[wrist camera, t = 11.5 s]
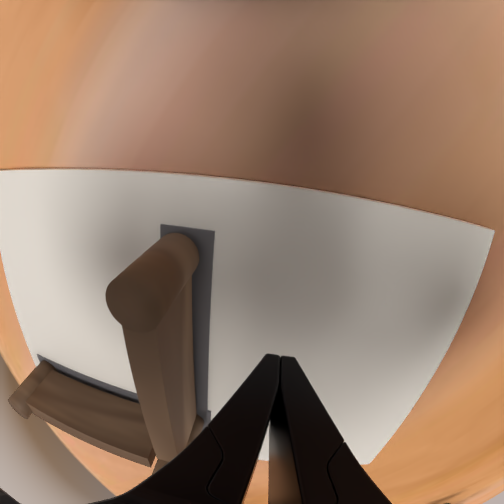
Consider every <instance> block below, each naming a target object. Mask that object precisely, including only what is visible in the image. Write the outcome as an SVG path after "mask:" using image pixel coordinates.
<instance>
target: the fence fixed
mask: <svg viewBox="0 0 504 504" xmlns="http://www.w3.org/2000/svg"><path fill="white" fill-rule="evenodd" d="M8 401H9V403H10V405H11V406H12V407H13V409H14V410H15V411H16V412H17V413H18V414H20V415H21V416H22V417H24V418H26V419H28V417H29V416H30V415H31V414H32V413H33V414H34V415H36V416H38V417H39V418H41V419H43V420H44V421H46V422H48V423H50V424H51V425H53V426H55V427H57V428H59V429H61V430H63V431H64V432H66V433H68V434H70V435H72V436H74V437H76V438H78V439H81V440H83V441H85V442H87V443H89V444H91V445H93V446H96V447H98V448H100V449H103V450H105V451H107V452H110V453H112V454H115V455H117V456H120V457H123V458H125V459H128V460H131V461H133V462H136V463H139V464H142V465H145V466H148V467H151V466H152V464H153V461H154V459H155V456H156V454H155V451H154V448H153V445H152V442H151V439H150V436H149V433H148V430H147V427H146V424H145V420H144V417H143V414H142V410H141V407H140V404H138V403H135V402H132V401H129V400H126V399H123V398H120V397H117V396H114V395H112V394H109V393H106V392H103V391H101V390H98V389H96V388H93V387H91V386H88V385H86V384H83V383H81V382H78V381H76V380H74V379H71V378H69V377H67V376H65V375H63V374H60V373H58V371H57V370H56V369H55V367H54V366H53V365H52V364H50V363H49V362H47V361H45V360H42V361H41V362H40V363H39V365H38V366H37V367H36V368H35V369H34V370H33V371H32V372H31V373H30V375H29V376H28V377H27V378H26V379H25V380H24V381H23V383H22V384H21V385H20V386H19V387H18V388H17V390H16V391H15V392H14V393H13V394H12V395H11V397H10V398H9V399H8ZM203 425H204V420H203V419H202V417H200V416H199V415H198V414H197V415H196V418H195V421H194V424H193V427H192V430H191V433H190V436H189V439H188V442H187V445H186V447H187V446H188V445H189V444H190V443H191V442H192V441H193V440H194V439H195V438H196V437H197V436H198V435H199V434H200V433H201V431H202V428H203ZM167 463H168V461H164V460H160V459H158V460H157V463H156V465H155V468H154V470H153V473H152V475H153V474H154V473H155V472H157V471H158V470H159V469H161V468H162V467H163V466H164V465H166V464H167Z"/></svg>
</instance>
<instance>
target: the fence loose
mask: <svg viewBox="0 0 504 504" xmlns="http://www.w3.org/2000/svg"><path fill="white" fill-rule="evenodd" d="M198 264H199V252H198V249H197V247H196V245H195V243H194V242H193V241H192V240H191V239H190V238H189V237H187V236H185V235H183V234H180V233H169V234H166V235H165V236H163V237H162V238H161V239H159V240H158V241H157V242H156V243H155V244H153V245H152V246H151V247H150V248H149V249H148V250H146V251H145V252H144V253H143V254H142V255H141V256H139V257H138V258H137V259H136V260H135V261H134V262H133V263H131V264H130V265H129V266H128V267H127V268H126V269H125V270H124V271H122V272H121V273H120V274H119V275H118V276H117V277H116V278H115V279H113V280H112V281H111V282H110V283H109V285H108V286H107V289H106V294H105V297H106V303H107V306H108V309H109V311H110V312H111V314H112V316H113V317H114V318H115V319H116V320H117V321H118V322H119V323H120V324H121V325H122V329H123V334H124V340H125V345H126V349H127V354H128V359H129V363H130V368H131V372H132V376H133V380H134V384H135V388H136V392H137V396H138V399H139V403H140V407H141V410H142V414H143V417H144V420H145V424H146V427H147V430H148V433H149V436H150V439H151V442H152V445H153V448H154V451H155V454H156V457H157V459H160V460H164V461H168V462H170V461H171V460H172V459H173V458H175V457H176V456H177V455H178V454H179V453H180V452H182V451H183V450H184V449H185V448H186V445H187V442H188V439H189V436H190V433H191V430H192V427H193V424H194V421H195V418H196V415H197V410H196V396H195V378H194V358H193V329H192V274H193V273H194V271H195V270H196V268H197V266H198Z"/></svg>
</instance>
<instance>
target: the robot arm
mask: <svg viewBox="0 0 504 504" xmlns="http://www.w3.org/2000/svg"><path fill="white" fill-rule="evenodd" d="M268 425H269V490H268V504H392V503H391V502H390V501H389V500H388V498H387V497H386V496H385V495H384V494H383V493H382V491H381V490H380V489H379V488H378V487H377V485H376V484H375V483H374V482H373V481H372V479H371V478H370V477H369V476H368V474H367V473H366V472H365V470H364V469H363V468H362V467H361V465H360V464H359V462H358V461H357V459H356V458H355V456H354V455H353V453H352V452H351V450H350V448H349V447H348V445H347V443H346V442H344V438H343V437H342V435H341V434H340V432H339V430H338V429H337V427H336V425H335V424H334V422H333V420H332V419H331V417H330V415H329V414H328V412H327V410H326V409H325V407H324V405H323V404H322V402H321V400H320V398H319V397H318V395H317V393H316V392H315V390H314V388H313V387H312V385H311V383H310V382H309V380H308V378H307V377H306V375H305V373H304V371H303V370H302V368H301V366H300V365H299V363H298V361H297V360H296V358H295V357H291V356H284V355H283V356H281V357H280V356H279V355H276V354H269V353H267V354H265V355H264V357H263V358H262V359H261V361H260V362H259V363H258V364H257V366H256V367H255V368H254V369H253V371H252V372H251V373H250V375H249V376H248V377H247V378H246V380H245V381H244V382H243V383H242V384H241V386H240V387H239V388H238V389H237V391H236V392H235V393H234V394H233V395H232V397H231V398H230V399H229V400H228V401H227V403H226V404H225V405H224V406H223V407H222V409H221V410H220V411H219V412H218V413H217V414H216V416H215V417H214V418H213V419H212V420H211V421H210V423H209V424H208V425H207V427H205V428H204V429H203V430H202V431H201V433H200V434H199V435H198V436H197V437H196V438H195V439H194V440H193V441H192V442H191V443H190V444H189V445H188V446H187V447H186V448H185V449H184V450H183V451H182V452H180V453H179V454H178V455H177V456H176V457H175V458H173V459H172V460H171V461H170V462H168V463H167V464H166V465H164V466H163V467H162V468H161V469H159V470H158V471H157V472H155V473H154V474H153V475H151V476H150V477H148V478H147V479H146V480H144V481H143V482H142V483H140V484H139V485H137V486H136V487H134V488H133V489H131V490H129V491H128V492H126V493H124V494H121V495H119V496H117V497H114V498H111V499H106V500H102V501H98V502H94V503H89V504H243V503H244V500H245V497H246V494H247V491H248V488H249V485H250V482H251V479H252V476H253V473H254V470H255V467H256V464H257V461H258V458H259V455H260V452H261V449H262V445H263V442H264V439H265V436H266V432H267V429H268ZM0 504H20V503H19V502H17V501H16V500H15V499H13V498H12V497H11V496H10V495H8V494H7V493H6V492H5V491H3V490H2V489H1V488H0Z"/></svg>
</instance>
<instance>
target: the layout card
mask: <svg viewBox="0 0 504 504" xmlns="http://www.w3.org/2000/svg"><path fill="white" fill-rule="evenodd" d="M494 232H495V231H494V230H493V229H491V228H488V227H485V226H481V225H477V224H474V223H470V222H467V221H463V220H459V219H455V218H451V217H447V216H443V215H439V214H435V213H431V212H427V211H423V210H418V209H414V208H410V207H405V206H401V205H396V204H391V203H386V202H382V201H377V200H372V199H366V198H361V197H356V196H351V195H345V194H339V193H334V192H328V191H322V190H316V189H310V188H303V187H297V186H290V185H283V184H276V183H268V182H261V181H253V180H244V179H236V178H227V177H217V176H207V175H196V174H185V173H172V172H157V171H141V170H120V169H87V168H38V169H7V170H0V252H1V257H2V262H3V266H4V271H5V275H6V279H7V283H8V287H9V291H10V294H11V298H12V301H13V305H14V308H15V311H16V314H17V318H18V321H19V324H20V327H21V329H22V332H23V335H24V338H25V340H26V343H27V346H28V348H29V351H30V353H31V356H32V358H33V361H34V363H35V365H36V367H37V366H38V365H39V363H40V362H41V361H42V360H45V361H47V362H49V363H50V364H52V365H53V366H54V367H55V369H56V370H57V371H58V373H60V374H63V375H65V376H67V377H69V378H71V379H74V380H76V381H78V382H81V383H83V384H86V385H88V386H91V387H93V388H96V389H98V390H101V391H103V392H106V393H109V394H112V395H114V396H117V397H120V398H123V399H126V400H129V401H132V402H135V403H138V404H140V403H139V399H138V396H137V392H136V388H135V384H134V380H133V376H132V372H131V368H130V363H129V359H128V354H127V349H126V345H125V340H124V334H123V329H122V325H121V324H120V323H119V322H118V321H117V320H116V319H115V318H114V317H113V316H112V314H111V312H110V311H109V309H108V306H107V303H106V297H105V294H106V289H107V286H108V285H109V283H110V282H111V281H112V280H113V279H115V278H116V277H117V276H118V275H119V274H120V273H121V272H122V271H124V270H125V269H126V268H127V267H128V266H129V265H130V264H131V263H133V262H134V261H135V260H136V259H137V258H138V257H139V256H141V255H142V254H143V253H144V252H145V251H146V250H148V249H149V248H150V247H151V246H152V245H153V244H155V243H156V242H157V241H158V240H159V239H161V238H162V237H163V236H165V235H166V234H169V233H180V234H183V235H185V236H187V237H189V238H190V239H191V240H192V241H193V242H194V243H195V245H196V247H197V249H198V252H199V264H198V266H197V268H196V270H195V271H194V273H193V274H192V329H193V358H194V378H195V396H196V410H197V414H198V415H199V416H200V417H202V419H203V420H204V425H203V428H202V430H203V429H204V428H205V427H207V425H208V424H209V423H210V421H211V420H212V419H213V418H214V417H215V416H216V414H217V413H218V412H219V411H220V410H221V409H222V407H223V406H224V405H225V404H226V403H227V401H228V400H229V399H230V398H231V397H232V395H233V394H234V393H235V392H236V391H237V389H238V388H239V387H240V386H241V384H242V383H243V382H244V381H245V380H246V378H247V377H248V376H249V375H250V373H251V372H252V371H253V369H254V368H255V367H256V366H257V364H258V363H259V362H260V361H261V359H262V358H263V357H264V355H265V354H267V353H269V354H276V355H279V356H280V357H281V356H283V355H284V356H291V357H295V358H296V360H297V361H298V363H299V365H300V366H301V368H302V370H303V371H304V373H305V375H306V377H307V378H308V380H309V382H310V383H311V385H312V387H313V388H314V390H315V392H316V393H317V395H318V397H319V398H320V400H321V402H322V404H323V405H324V407H325V409H326V410H327V412H328V414H329V415H330V417H331V419H332V420H333V422H334V424H335V425H336V427H337V429H338V430H339V432H340V434H341V435H342V437H343V438H344V442H346V443H347V445H348V447H349V448H350V450H351V452H352V453H353V455H354V456H355V458H356V459H357V461H358V462H359V464H370V462H371V461H372V460H373V459H374V458H375V457H376V455H377V454H378V453H379V452H380V451H381V449H382V448H383V447H384V446H385V444H386V443H387V442H388V441H389V439H390V438H391V437H392V436H393V434H394V433H395V432H396V430H397V429H398V428H399V426H400V425H401V424H402V422H403V421H404V419H405V418H406V417H407V415H408V414H409V412H410V411H411V409H412V408H413V407H414V405H415V404H416V402H417V401H418V399H419V398H420V396H421V394H422V393H423V391H424V390H425V388H426V387H427V385H428V383H429V382H430V380H431V378H432V377H433V375H434V373H435V372H436V370H437V368H438V366H439V365H440V363H441V361H442V359H443V357H444V356H445V354H446V352H447V350H448V348H449V346H450V344H451V342H452V340H453V338H454V336H455V334H456V332H457V330H458V328H459V326H460V324H461V322H462V320H463V317H464V315H465V313H466V311H467V308H468V306H469V304H470V301H471V299H472V297H473V294H474V292H475V289H476V286H477V284H478V281H479V279H480V276H481V273H482V270H483V267H484V265H485V262H486V259H487V256H488V253H489V249H490V246H491V243H492V239H493V236H494ZM258 460H265V461H269V425H268V429H267V432H266V436H265V439H264V442H263V445H262V449H261V452H260V455H259V458H258Z"/></svg>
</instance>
